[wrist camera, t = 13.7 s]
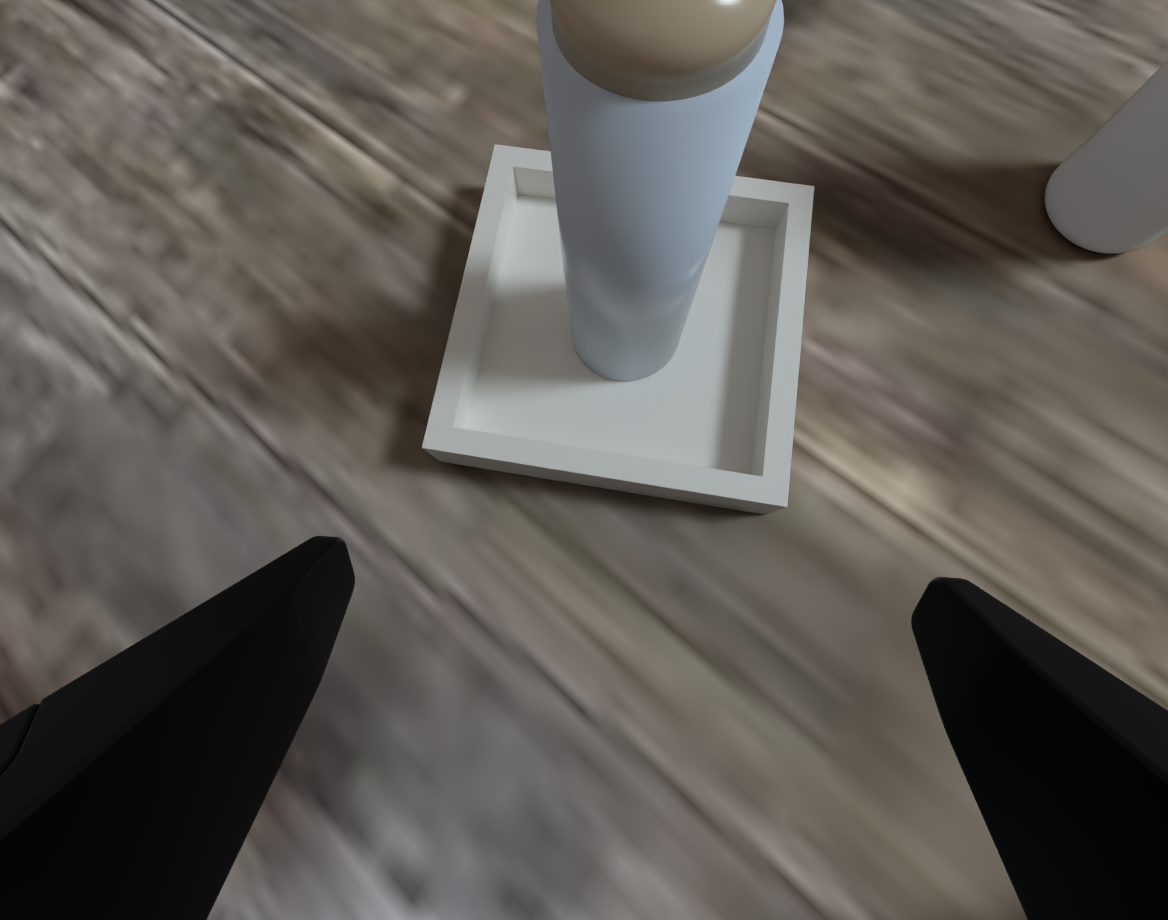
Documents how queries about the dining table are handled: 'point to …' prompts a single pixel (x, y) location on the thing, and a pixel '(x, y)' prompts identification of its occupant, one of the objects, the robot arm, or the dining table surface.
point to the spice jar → (646, 157)
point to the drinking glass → (1117, 177)
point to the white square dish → (641, 407)
